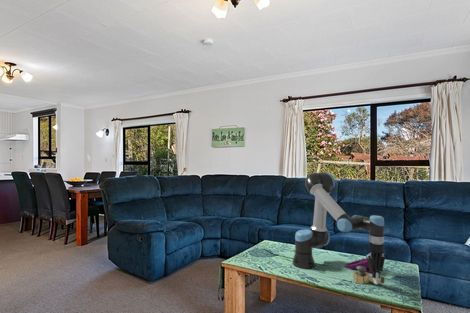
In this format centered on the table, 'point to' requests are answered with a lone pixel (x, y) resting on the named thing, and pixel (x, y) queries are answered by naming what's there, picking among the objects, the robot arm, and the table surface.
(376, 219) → the robot arm
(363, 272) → the base
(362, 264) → the mounting bracket
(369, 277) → the collar
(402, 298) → the table surface
